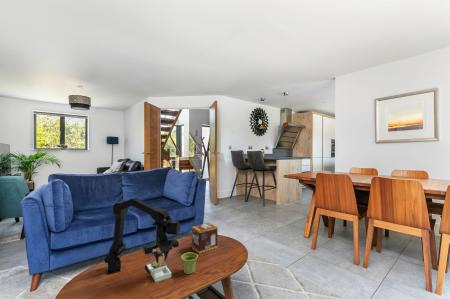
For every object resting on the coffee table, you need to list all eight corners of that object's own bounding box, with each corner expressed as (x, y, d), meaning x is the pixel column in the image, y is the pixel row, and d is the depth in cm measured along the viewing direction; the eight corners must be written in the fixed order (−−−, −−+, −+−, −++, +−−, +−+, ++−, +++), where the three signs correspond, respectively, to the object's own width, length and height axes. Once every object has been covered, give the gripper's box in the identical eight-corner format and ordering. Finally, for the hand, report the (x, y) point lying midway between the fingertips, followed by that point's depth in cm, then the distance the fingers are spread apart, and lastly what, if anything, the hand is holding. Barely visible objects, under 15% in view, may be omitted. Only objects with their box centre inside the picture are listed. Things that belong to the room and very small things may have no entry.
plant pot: (197, 266, 131) (197, 251, 131) (198, 275, 122) (198, 259, 122) (181, 267, 129) (181, 253, 129) (180, 276, 120) (181, 260, 120)
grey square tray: (150, 273, 123) (150, 271, 123) (145, 265, 131) (145, 263, 131) (168, 268, 129) (168, 266, 129) (162, 261, 137) (162, 259, 137)
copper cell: (158, 267, 118) (158, 254, 118) (156, 264, 121) (156, 251, 121) (165, 265, 120) (165, 252, 120) (163, 262, 123) (163, 249, 124)
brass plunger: (153, 268, 126) (153, 265, 126) (151, 264, 131) (151, 261, 131) (162, 266, 129) (162, 263, 129) (160, 262, 134) (160, 259, 134)
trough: (155, 282, 115) (155, 277, 115) (150, 274, 122) (150, 270, 122) (171, 277, 120) (171, 272, 120) (165, 270, 127) (166, 265, 127)
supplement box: (191, 248, 155) (191, 226, 156) (209, 243, 165) (209, 222, 165) (199, 253, 147) (199, 230, 147) (217, 247, 156) (217, 226, 157)
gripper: (147, 242, 109) (147, 273, 109) (182, 234, 120) (182, 263, 119) (142, 235, 118) (142, 264, 118) (175, 228, 129) (175, 255, 129)
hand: (160, 261), depth 121 cm, fingers closed on copper cell, 4 cm apart
